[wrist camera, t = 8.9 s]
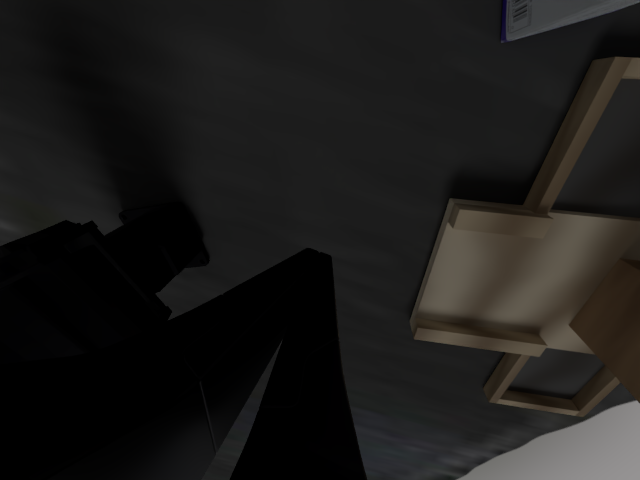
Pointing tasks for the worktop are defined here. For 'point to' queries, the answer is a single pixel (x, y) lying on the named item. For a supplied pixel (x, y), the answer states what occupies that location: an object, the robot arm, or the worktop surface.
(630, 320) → the walnut block
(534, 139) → the worktop surface
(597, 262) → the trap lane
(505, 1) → the supplement box
